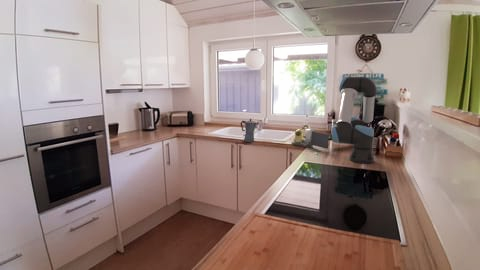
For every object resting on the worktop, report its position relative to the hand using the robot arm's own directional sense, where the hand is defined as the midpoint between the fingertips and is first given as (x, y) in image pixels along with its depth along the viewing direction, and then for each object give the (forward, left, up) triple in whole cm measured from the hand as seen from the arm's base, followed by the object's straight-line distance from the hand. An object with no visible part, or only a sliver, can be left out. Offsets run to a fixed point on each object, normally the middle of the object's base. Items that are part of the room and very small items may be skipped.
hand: (324, 139), depth 214 cm
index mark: (-16, +3, -8) cm, 18 cm away
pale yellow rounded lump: (+10, +22, -8) cm, 25 cm away
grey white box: (-1, +5, -7) cm, 9 cm away
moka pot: (0, +64, -8) cm, 64 cm away
